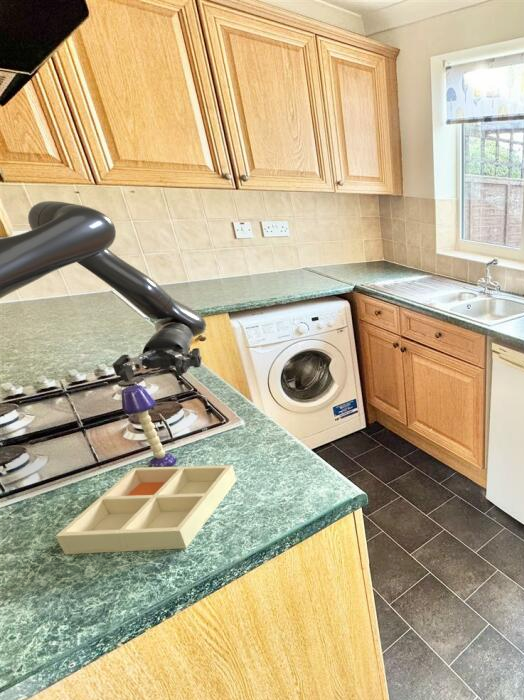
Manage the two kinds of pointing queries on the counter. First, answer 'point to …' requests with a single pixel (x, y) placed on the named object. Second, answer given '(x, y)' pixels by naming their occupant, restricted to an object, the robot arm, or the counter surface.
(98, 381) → the counter surface
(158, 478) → the grid
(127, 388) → the toy lamp
